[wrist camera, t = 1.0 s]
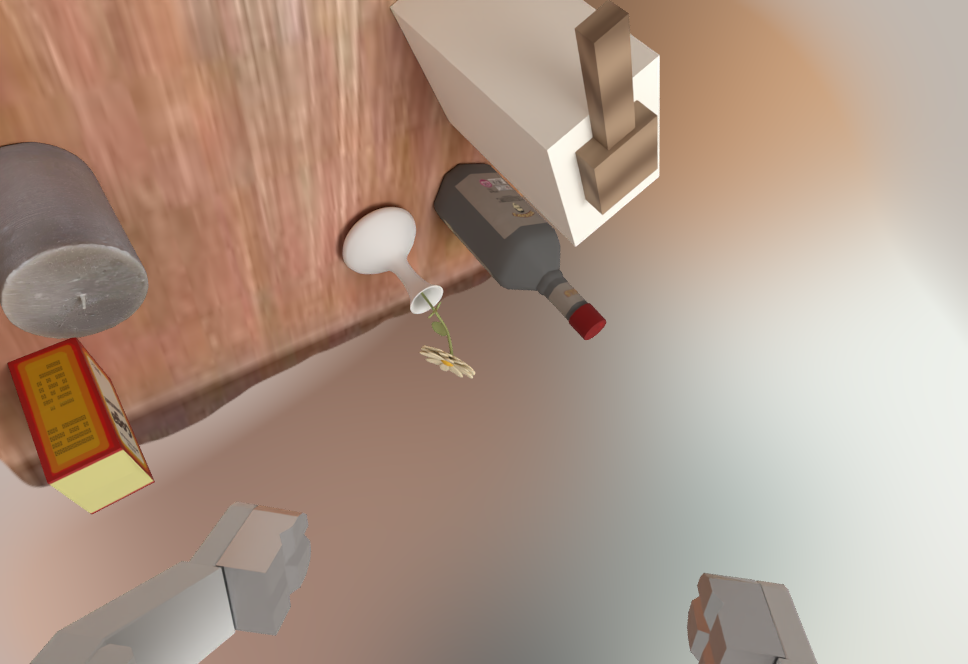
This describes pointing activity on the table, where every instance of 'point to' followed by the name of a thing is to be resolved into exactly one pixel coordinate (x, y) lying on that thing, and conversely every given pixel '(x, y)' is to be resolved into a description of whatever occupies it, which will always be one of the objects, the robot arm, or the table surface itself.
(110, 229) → the pillar candle
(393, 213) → the flower in vase
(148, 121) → the table surface
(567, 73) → the stand
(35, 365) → the baking soda box
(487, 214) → the liquor
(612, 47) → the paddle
